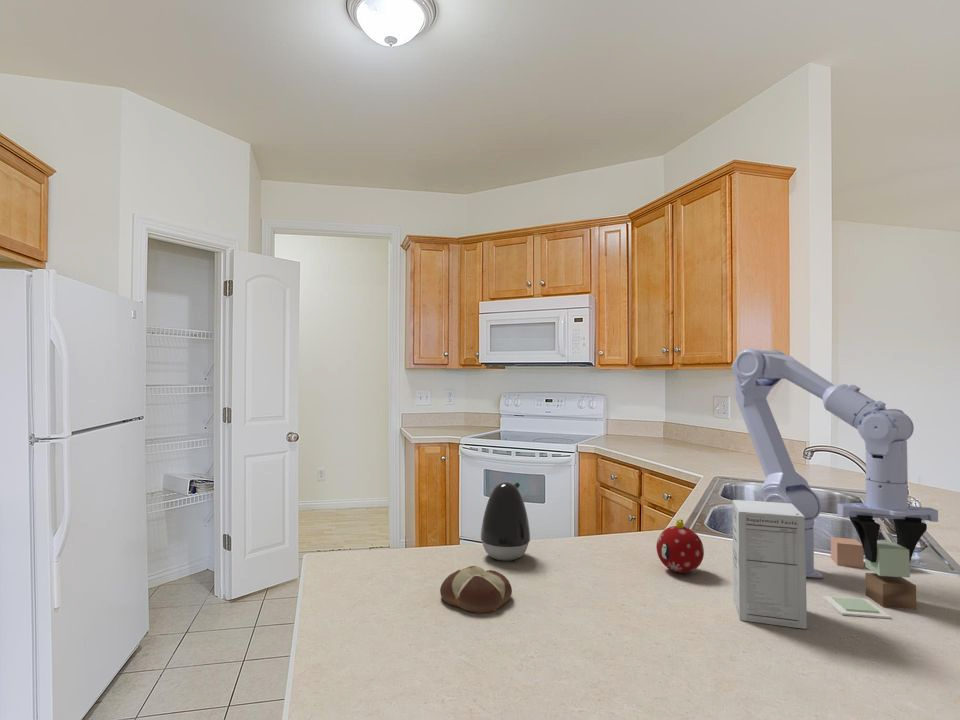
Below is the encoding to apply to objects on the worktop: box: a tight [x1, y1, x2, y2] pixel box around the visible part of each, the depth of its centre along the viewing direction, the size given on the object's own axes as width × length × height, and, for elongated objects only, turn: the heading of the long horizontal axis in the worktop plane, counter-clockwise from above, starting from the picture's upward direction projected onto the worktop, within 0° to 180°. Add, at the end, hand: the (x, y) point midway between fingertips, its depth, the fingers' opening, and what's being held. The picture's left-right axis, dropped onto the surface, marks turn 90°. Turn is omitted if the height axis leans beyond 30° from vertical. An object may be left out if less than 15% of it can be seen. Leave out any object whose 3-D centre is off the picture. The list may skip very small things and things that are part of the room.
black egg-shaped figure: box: [480, 482, 531, 562], centre depth 112 cm, size 10×10×15 cm
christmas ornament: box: [656, 518, 705, 574], centre depth 105 cm, size 9×9×10 cm
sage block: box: [864, 541, 911, 578], centre depth 92 cm, size 4×4×4 cm
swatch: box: [820, 595, 892, 620], centre depth 89 cm, size 7×7×1 cm
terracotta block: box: [830, 536, 865, 569], centre depth 111 cm, size 4×4×4 cm
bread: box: [439, 565, 513, 614], centre depth 91 cm, size 11×11×5 cm
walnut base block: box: [864, 572, 917, 610], centre depth 92 cm, size 5×5×4 cm
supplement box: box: [731, 499, 808, 630], centre depth 87 cm, size 10×9×17 cm
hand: (887, 561), depth 92 cm, fingers closed on sage block, 4 cm apart
